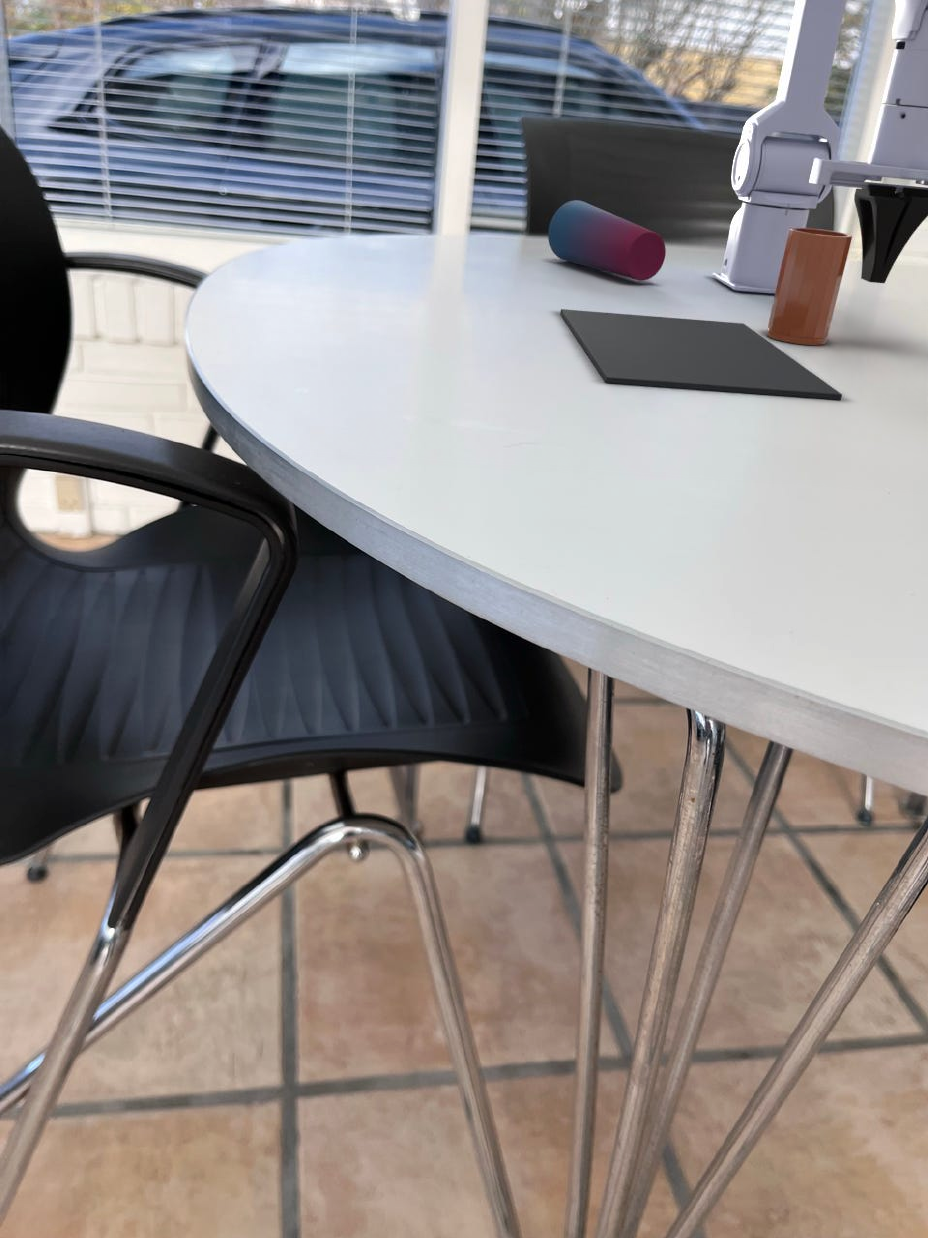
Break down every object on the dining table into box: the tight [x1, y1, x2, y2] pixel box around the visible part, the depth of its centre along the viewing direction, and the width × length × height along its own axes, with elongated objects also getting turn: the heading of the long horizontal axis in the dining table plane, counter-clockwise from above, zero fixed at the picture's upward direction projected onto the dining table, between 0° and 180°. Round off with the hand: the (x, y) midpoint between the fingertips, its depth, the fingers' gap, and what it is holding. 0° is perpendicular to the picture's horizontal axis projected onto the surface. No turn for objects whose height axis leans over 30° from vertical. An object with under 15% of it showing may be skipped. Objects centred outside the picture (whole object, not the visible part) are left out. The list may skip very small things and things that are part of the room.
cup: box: [547, 199, 667, 281], centre depth 115 cm, size 7×7×15 cm
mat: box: [559, 308, 843, 401], centre depth 82 cm, size 24×17×1 cm
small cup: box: [766, 227, 853, 346], centre depth 89 cm, size 5×5×9 cm
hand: (872, 280), depth 90 cm, fingers closed
